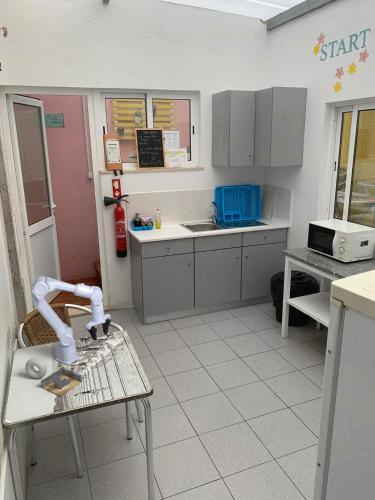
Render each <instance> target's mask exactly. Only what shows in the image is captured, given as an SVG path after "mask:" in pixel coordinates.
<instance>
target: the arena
mask: <svg viewBox="0 0 375 500" xmlns="http://www.w3.org/2000/svg"><path fill="white" fill-rule="evenodd" d="M53 374H55V375H58V376H60V379H61V380H63V379H64V378H65V379H67V380H70V381H71V383H70V384H69V385H67V386H66V387H64V388H62V389H61V390H58V389H56V388H54V386H53V378H52V375H53ZM81 383H83V377H82V374H80V373H78V372H75V371H74V370H71V369H68V368H66V367H63V366H62V367H61V368H59V369H58V370H56V371H55V372H53V373H51V374H50V375H48V376H46V377H45V378H43V379H41V380H40V384H41V389H43V390H45V391H47V392H49V393H51V394H54V395H56V396H58V397H62V396H64V395H65V394H66V393H69V392H70V391H71V390H73V389H74V388H76V387H77V386H79V385H81Z"/></svg>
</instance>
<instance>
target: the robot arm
mask: <svg viewBox="0 0 375 500" xmlns="http://www.w3.org/2000/svg"><path fill="white" fill-rule="evenodd" d="M55 290H60V291H64V292H70V293H73V295H74V296H77V297H81V298H86V299H90V309H91V321H90V322H88V323H87V324H86V325H85V329H86V330H87V332H88V333H89V335H90V337H91V340H93V341H95V342H96V341H97V339H98V338H97V332H98V328H96V327H95V326H97V325H100V324H101V326H102V327H101V328H102V333H103V334H105V335H108V331H109V327H110V324H111V322H112V319H111V314H108V313H106V314H105V311H104V310H105V309H104V302H103V297H104V295H103V291H102V289H101V288H100V287H99V286H96V285H94V286H93V285H92V286H90V285H86V284H85V283H81V282H80V283H77V284H71V283H68V282H65V281H62V280H58V279H55V278H52V277H50V276H49V277H48V276H47V277H46V276H44V275H40V276H37V277H36V278H35V279H34V281H33V284H32V290H31V303H32V305H34V307H35V308H36V309H37V311H38V312H39V313H40V315H41V316H42V317H43V318H44V319H45V321H46V322H47V323H48V324H49V325H50V327H51V328H52V329H53V331H54V332H55V334H56V336H57V338H58V340H59V341H57V343H56V345H55V351H56V354H55V355H56V358H55V360H56V361H58V362H60V363H62V364H65V365H67V366H69V365H71V364H72V363H74V362H76V361H77V360H80V359H81V357H82V356H80V355H77V348H76V347H77V345H76V339H74V330H73V328H72V327H71V326H68V325H67V324H66V323H65V322H63V321H62V319H61V318H60V317H59V316H58V314H57V313H56V312H55V311H54V310H53V308H52V306H50V304H49V303H48V302H47V301H46V300H45V296H46V294H47V293H48V292H49V293H51V292H53V291H55Z"/></svg>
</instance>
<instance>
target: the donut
mask: <svg viewBox="0 0 375 500" xmlns="http://www.w3.org/2000/svg"><path fill="white" fill-rule="evenodd" d="M34 367H36V368H38V370H36V369H35V368H34ZM24 370H25V371H26V374H27V375H28V376H29V377H30V378H33V379H42V378H43V377H45V376H46V374H47V372H48V367H47V365H46V363H45V361H43V360H42V359H40V358H36V357H33V358H30V359H28V360H27V361H26V362H25V366H24Z"/></svg>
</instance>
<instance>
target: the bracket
mask: <svg viewBox="0 0 375 500" xmlns="http://www.w3.org/2000/svg"><path fill="white" fill-rule="evenodd" d="M52 374H53V373H52ZM52 378H53V386H54V388H56V389H58V390H61V389H62V388H64V387H66V386H67V385H69V384H70V383H71V381H70V380H67V379H65V378H64V379H63V380H61V379H60V376H58V375H55V374H53V375H52Z"/></svg>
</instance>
